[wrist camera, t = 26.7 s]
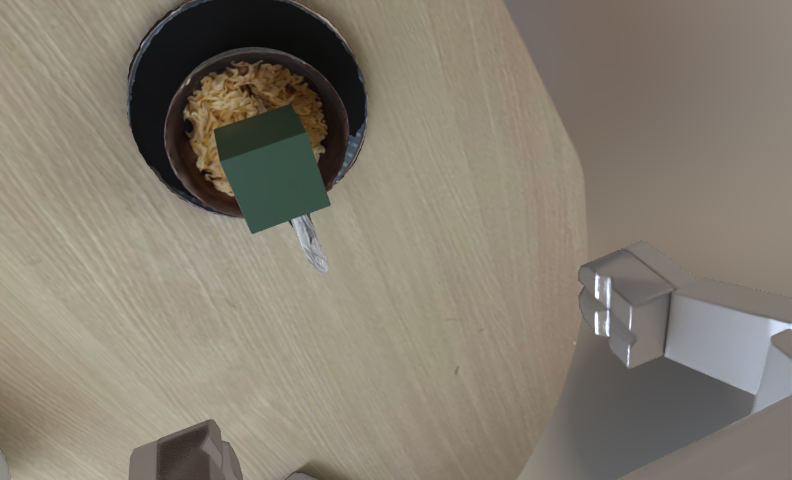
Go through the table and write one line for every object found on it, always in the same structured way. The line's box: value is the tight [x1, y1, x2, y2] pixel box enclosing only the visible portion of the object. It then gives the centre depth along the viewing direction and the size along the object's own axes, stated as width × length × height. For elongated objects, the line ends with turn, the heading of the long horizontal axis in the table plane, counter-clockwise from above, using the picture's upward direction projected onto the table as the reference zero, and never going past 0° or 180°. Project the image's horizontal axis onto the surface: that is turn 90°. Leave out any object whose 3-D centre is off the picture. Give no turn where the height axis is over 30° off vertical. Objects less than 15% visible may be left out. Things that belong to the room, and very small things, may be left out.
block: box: [214, 104, 330, 234], centre depth 31 cm, size 4×4×4 cm
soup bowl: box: [127, 0, 368, 275], centre depth 35 cm, size 15×16×7 cm
